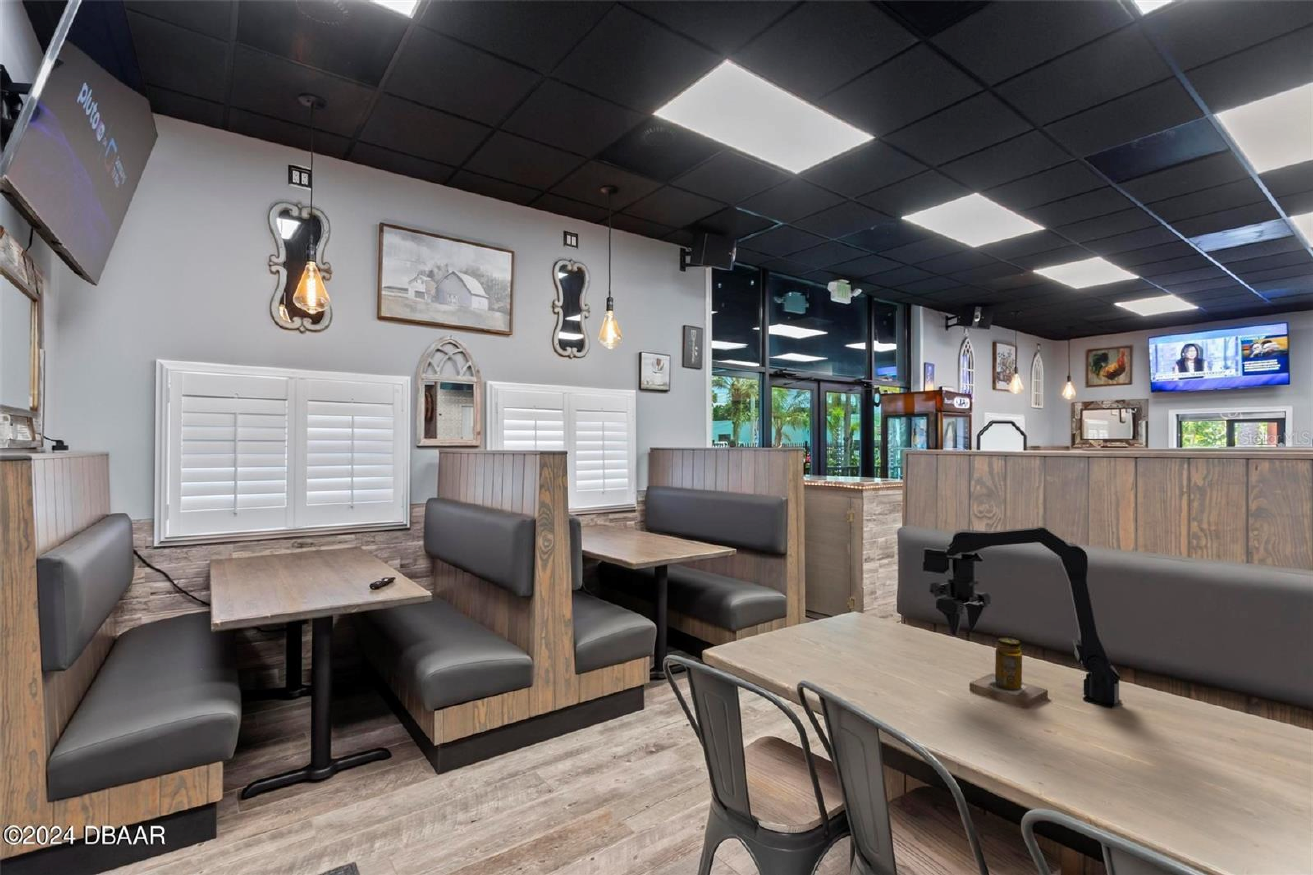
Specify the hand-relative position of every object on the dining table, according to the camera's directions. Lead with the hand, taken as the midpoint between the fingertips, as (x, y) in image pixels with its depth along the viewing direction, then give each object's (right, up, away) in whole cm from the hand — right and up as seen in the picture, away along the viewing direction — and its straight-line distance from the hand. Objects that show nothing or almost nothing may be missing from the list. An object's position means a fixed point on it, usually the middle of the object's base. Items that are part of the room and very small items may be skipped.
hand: (963, 632), depth 171 cm
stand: (+7, -13, -10) cm, 18 cm away
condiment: (+6, -11, -10) cm, 16 cm away
